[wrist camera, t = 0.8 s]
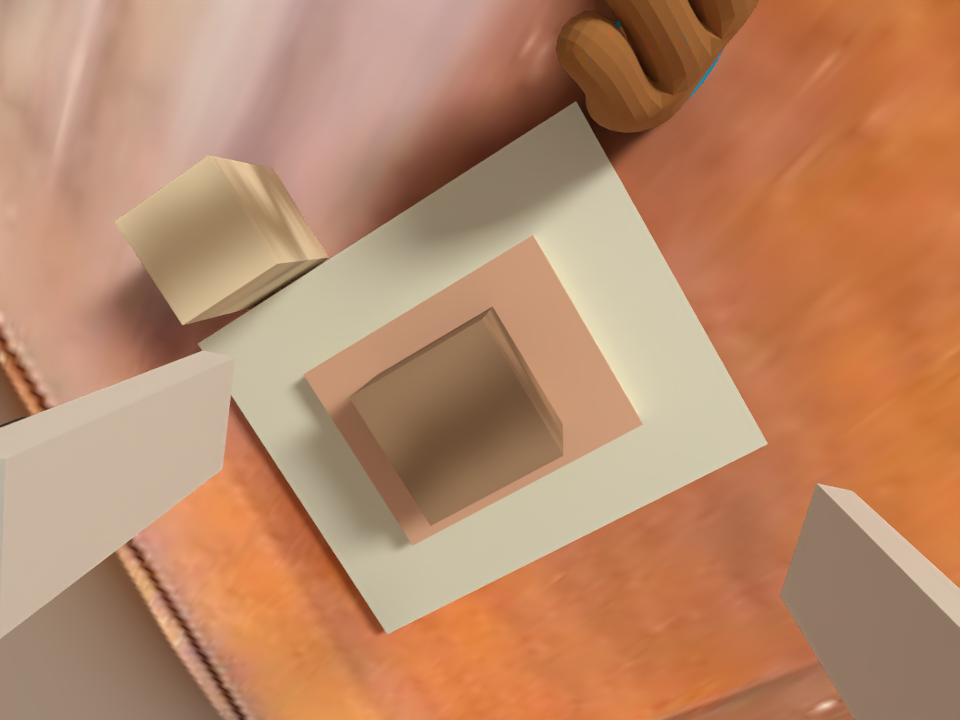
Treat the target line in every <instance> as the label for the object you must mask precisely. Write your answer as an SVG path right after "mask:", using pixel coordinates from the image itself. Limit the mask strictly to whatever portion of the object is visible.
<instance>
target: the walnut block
mask: <svg viewBox="0 0 960 720" xmlns="http://www.w3.org/2000/svg"><path fill="white" fill-rule="evenodd" d="M349 398H350V399H351V401H352V402H353V404H354V406H355V407H356V409H357V410H358V412H359V414H360V415H361V417H362V418H363V420H364V421H365V423H366V425H367V426H368V428H369V429H370V431H371V433H372V434H373V436H374V437H375V439H376V440H377V442H378V444H379V445H380V447H381V448H382V450H383V452H384V453H385V455H386V456H387V458H388V459H389V461H390V463H391V464H392V466H393V467H394V469H395V471H396V472H397V474H398V475H399V477H400V478H401V480H402V482H403V483H404V485H405V486H406V488H407V490H408V491H409V493H410V494H411V496H412V497H413V499H414V501H415V502H416V504H417V505H418V507H419V509H420V510H421V512H422V513H423V515H424V516H425V518H426V520H427V521H428V523H429V524H430V526H432V525H433V524H435V523H437V522H439V521H441V520H443V519H445V518H447V517H449V516H450V515H452V514H454V513H456V512H458V511H460V510H462V509H464V508H466V507H467V506H469V505H471V504H473V503H475V502H477V501H479V500H481V499H483V498H484V497H486V496H488V495H490V494H492V493H494V492H496V491H498V490H500V489H501V488H503V487H505V486H507V485H509V484H511V483H513V482H515V481H517V480H518V479H520V478H522V477H524V476H526V475H528V474H530V473H532V472H534V471H535V470H537V469H539V468H541V467H543V466H545V465H547V464H549V463H551V462H552V461H554V460H556V459H558V458H560V457H562V456H564V453H563V424H562V422H561V420H560V419H559V417H558V415H557V414H556V412H555V410H554V409H553V407H552V405H551V404H550V402H549V400H548V398H547V397H546V395H545V393H544V392H543V390H542V388H541V387H540V385H539V383H538V382H537V380H536V378H535V377H534V375H533V373H532V372H531V370H530V368H529V367H528V365H527V363H526V362H525V360H524V358H523V356H522V355H521V353H520V351H519V350H518V348H517V346H516V345H515V343H514V341H513V340H512V338H511V336H510V335H509V333H508V331H507V330H506V328H505V326H504V325H503V323H502V321H501V320H500V318H499V316H498V314H497V313H496V311H495V309H494V308H493V307H491V308H489V309H488V310H486V311H484V312H482V313H481V314H479V315H477V316H476V317H474V318H472V319H471V320H469V321H467V322H466V323H464V324H462V325H460V326H459V327H457V328H455V329H454V330H452V331H450V332H449V333H447V334H445V335H444V336H442V337H440V338H438V339H437V340H435V341H433V342H432V343H430V344H428V345H427V346H425V347H423V348H422V349H420V350H418V351H416V352H415V353H413V354H411V355H410V356H408V357H406V358H405V359H403V360H401V361H400V362H398V363H396V364H394V365H393V366H391V367H389V368H388V369H386V370H384V371H383V372H381V373H379V374H378V375H376V376H375V377H374V378H373V379H371V380H370V381H369V382H368V383H366V384H365V385H364V386H363V387H362V388H360V389H359V390H358V391H357V392H355V393H354V394H353V395H352V396H350V397H349Z"/></svg>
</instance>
